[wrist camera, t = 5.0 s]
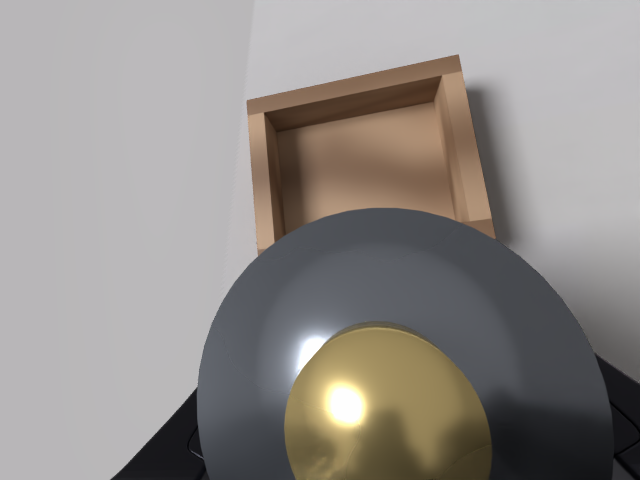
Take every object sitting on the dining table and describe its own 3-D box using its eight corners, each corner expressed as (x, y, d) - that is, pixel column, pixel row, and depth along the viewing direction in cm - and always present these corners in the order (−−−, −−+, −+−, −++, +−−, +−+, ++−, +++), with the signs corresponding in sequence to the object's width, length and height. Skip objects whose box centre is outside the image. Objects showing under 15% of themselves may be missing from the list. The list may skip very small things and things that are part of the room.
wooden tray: (475, 246, 18) (496, 238, 15) (276, 270, 19) (258, 268, 16) (445, 89, 19) (458, 54, 16) (264, 125, 21) (246, 100, 18)
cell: (380, 385, 15) (403, 904, 2) (309, 313, 16) (78, 413, 4) (449, 312, 15) (840, 463, 2) (373, 244, 16) (366, 103, 4)
